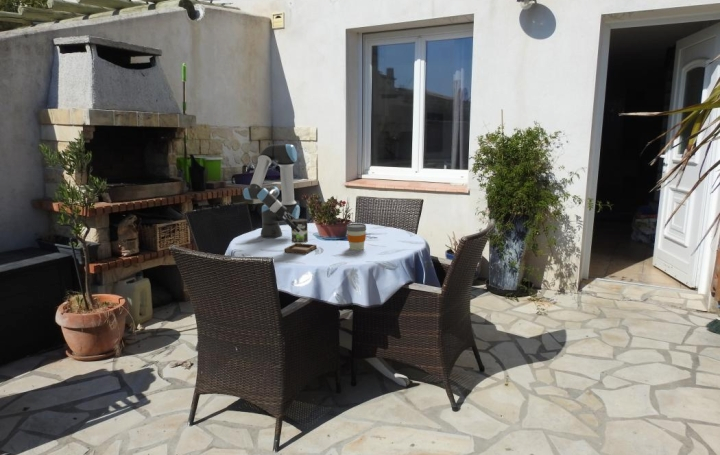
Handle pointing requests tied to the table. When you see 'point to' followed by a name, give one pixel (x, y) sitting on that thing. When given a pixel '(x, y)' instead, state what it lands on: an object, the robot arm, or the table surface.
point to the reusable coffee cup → (356, 236)
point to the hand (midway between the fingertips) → (304, 233)
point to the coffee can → (303, 226)
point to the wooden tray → (300, 248)
